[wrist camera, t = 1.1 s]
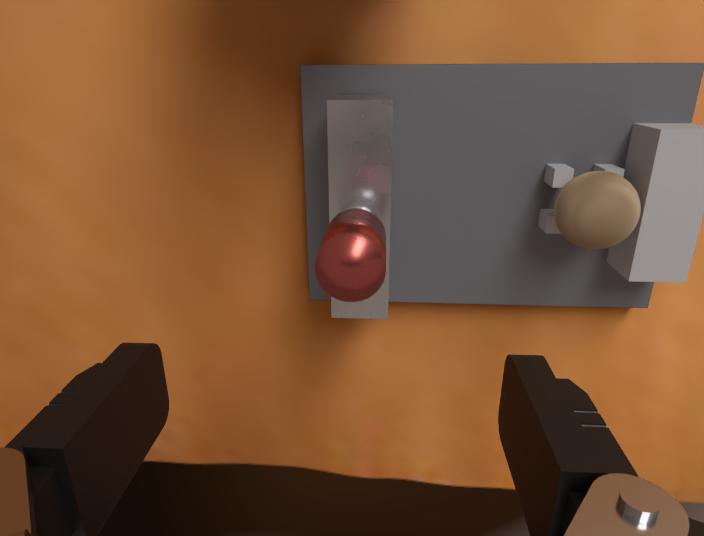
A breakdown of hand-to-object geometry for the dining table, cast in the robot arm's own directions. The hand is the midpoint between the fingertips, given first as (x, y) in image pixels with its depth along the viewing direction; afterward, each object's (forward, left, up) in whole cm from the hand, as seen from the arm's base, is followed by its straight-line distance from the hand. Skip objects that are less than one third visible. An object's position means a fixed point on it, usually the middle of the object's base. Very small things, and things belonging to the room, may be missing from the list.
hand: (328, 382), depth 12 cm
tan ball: (-12, 0, -16) cm, 20 cm away
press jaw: (0, 0, -19) cm, 19 cm away
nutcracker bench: (-7, 0, -21) cm, 22 cm away
